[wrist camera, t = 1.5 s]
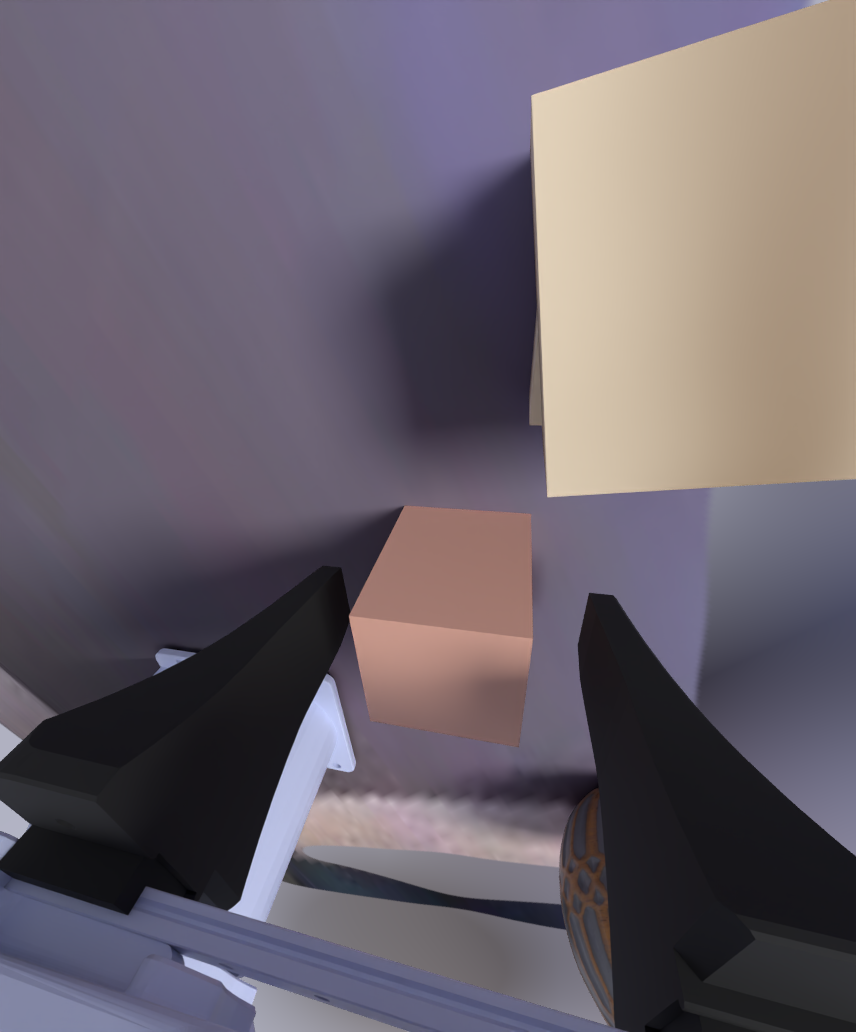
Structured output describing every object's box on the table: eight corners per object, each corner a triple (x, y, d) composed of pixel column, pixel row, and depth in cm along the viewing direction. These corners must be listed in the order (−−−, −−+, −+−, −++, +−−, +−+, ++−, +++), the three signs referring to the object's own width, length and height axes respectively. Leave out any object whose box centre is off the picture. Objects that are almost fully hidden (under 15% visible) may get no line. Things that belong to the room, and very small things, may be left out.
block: (412, 596, 15) (370, 720, 11) (405, 504, 13) (348, 616, 9) (521, 608, 14) (518, 747, 10) (530, 513, 12) (532, 638, 8)
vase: (617, 849, 22) (662, 1140, 15) (525, 788, 21) (525, 1075, 13) (746, 823, 18) (891, 1192, 11) (645, 748, 17) (734, 1110, 10)
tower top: (542, 443, 9) (547, 497, 7) (530, 150, 6) (531, 95, 4) (819, 417, 8) (930, 474, 5) (933, 36, 5) (1208, -121, 3)
